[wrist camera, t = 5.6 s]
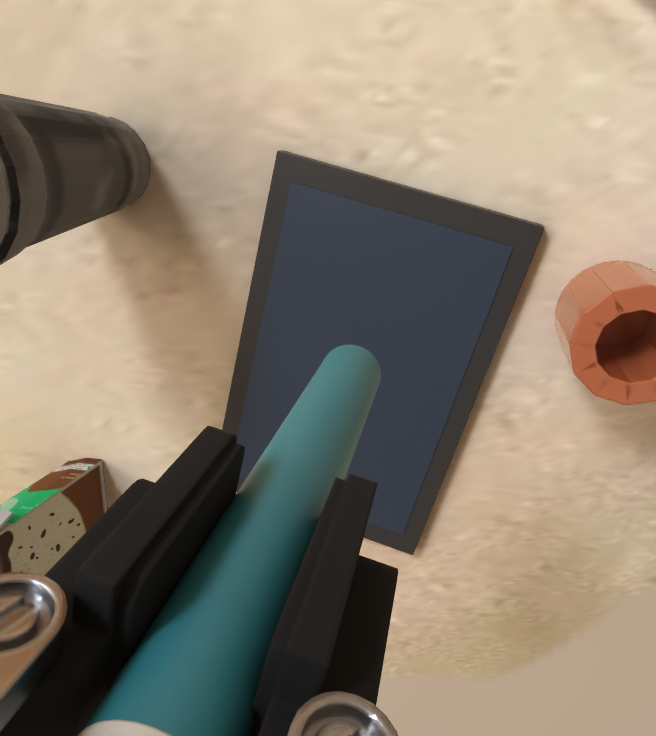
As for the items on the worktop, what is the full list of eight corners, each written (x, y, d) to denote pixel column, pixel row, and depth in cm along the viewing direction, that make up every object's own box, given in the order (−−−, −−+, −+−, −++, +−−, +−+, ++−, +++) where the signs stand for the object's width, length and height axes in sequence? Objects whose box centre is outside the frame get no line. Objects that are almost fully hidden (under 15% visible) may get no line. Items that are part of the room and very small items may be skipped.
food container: (17, 425, 39) (-120, 513, 30) (99, 439, 38) (-17, 536, 29) (41, 569, 44) (-71, 683, 35) (115, 586, 43) (20, 708, 34)
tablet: (281, 150, 29) (276, 150, 28) (542, 225, 27) (544, 227, 27) (216, 476, 37) (211, 484, 36) (414, 546, 36) (412, 556, 35)
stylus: (329, 335, 17) (26, 766, 5) (389, 353, 17) (208, 843, 5) (315, 389, 18) (21, 871, 6) (372, 408, 18) (181, 942, 6)
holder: (581, 247, 27) (602, 270, 23) (689, 278, 27) (733, 309, 22) (539, 343, 29) (551, 382, 25) (639, 374, 29) (670, 419, 24)
